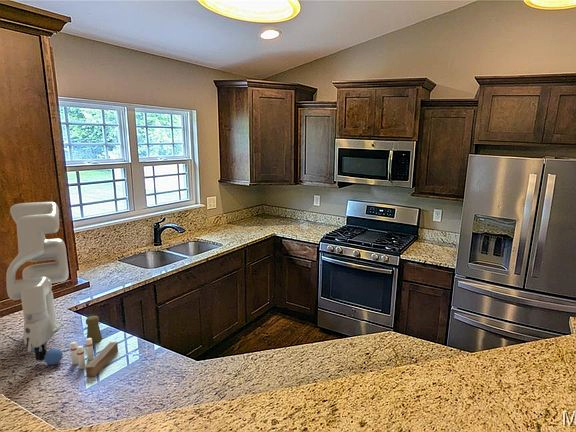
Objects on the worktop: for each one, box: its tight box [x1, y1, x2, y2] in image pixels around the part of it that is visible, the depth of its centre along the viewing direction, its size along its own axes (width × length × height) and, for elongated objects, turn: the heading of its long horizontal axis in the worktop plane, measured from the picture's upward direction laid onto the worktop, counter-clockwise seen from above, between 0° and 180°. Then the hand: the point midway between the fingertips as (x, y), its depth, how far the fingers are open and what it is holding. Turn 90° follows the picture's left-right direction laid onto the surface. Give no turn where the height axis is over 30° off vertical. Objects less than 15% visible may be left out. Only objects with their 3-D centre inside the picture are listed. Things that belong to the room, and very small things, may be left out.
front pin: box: [69, 341, 78, 366], centre depth 143 cm, size 2×2×8 cm
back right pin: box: [77, 345, 86, 370], centre depth 140 cm, size 2×2×8 cm
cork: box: [85, 315, 103, 345], centre depth 160 cm, size 6×6×11 cm
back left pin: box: [85, 337, 95, 362], centre depth 146 cm, size 2×2×8 cm
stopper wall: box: [85, 341, 119, 378], centre depth 143 cm, size 3×18×4 cm, turn 179°
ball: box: [43, 347, 64, 366], centre depth 143 cm, size 6×6×6 cm
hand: (41, 359), depth 143 cm, fingers closed
